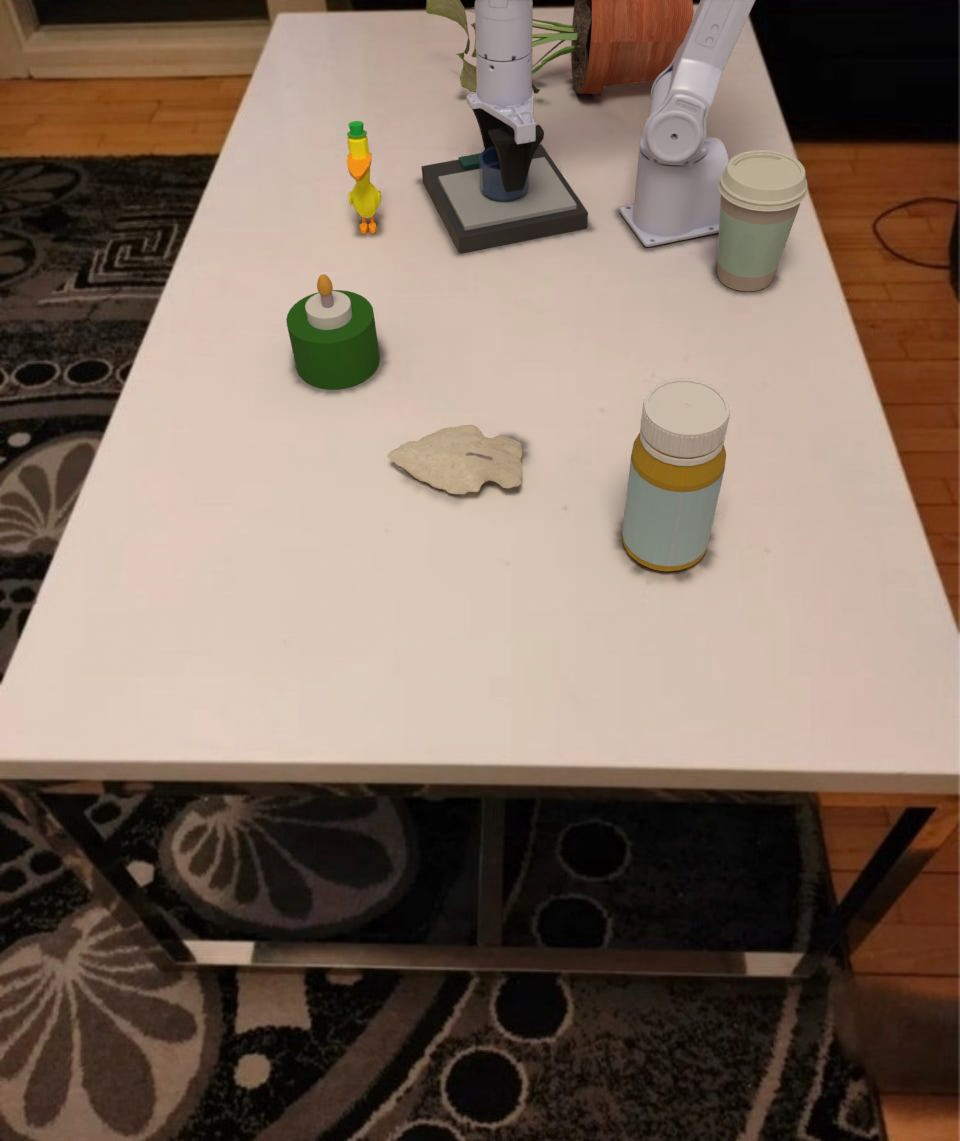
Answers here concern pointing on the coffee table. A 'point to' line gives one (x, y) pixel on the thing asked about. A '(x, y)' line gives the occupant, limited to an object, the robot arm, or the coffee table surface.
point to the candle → (333, 337)
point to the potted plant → (600, 40)
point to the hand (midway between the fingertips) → (505, 175)
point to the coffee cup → (757, 216)
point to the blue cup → (496, 178)
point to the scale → (502, 204)
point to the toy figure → (362, 176)
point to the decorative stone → (461, 459)
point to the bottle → (675, 474)
